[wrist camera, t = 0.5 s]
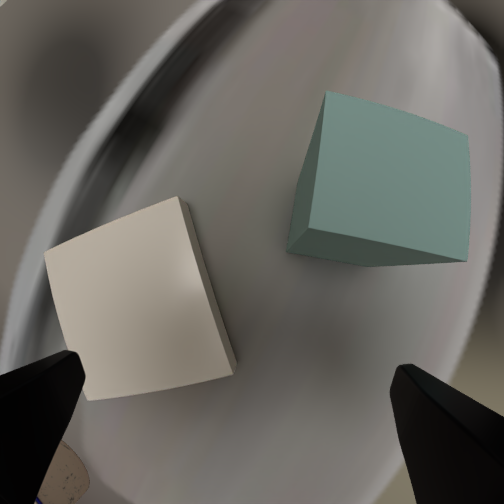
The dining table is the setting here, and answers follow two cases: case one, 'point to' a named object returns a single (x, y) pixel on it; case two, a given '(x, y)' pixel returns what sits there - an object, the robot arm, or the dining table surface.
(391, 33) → the dining table surface
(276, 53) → the dining table surface
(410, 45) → the dining table surface
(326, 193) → the teal block
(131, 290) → the plate
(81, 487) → the teacup with lid
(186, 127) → the dining table surface
